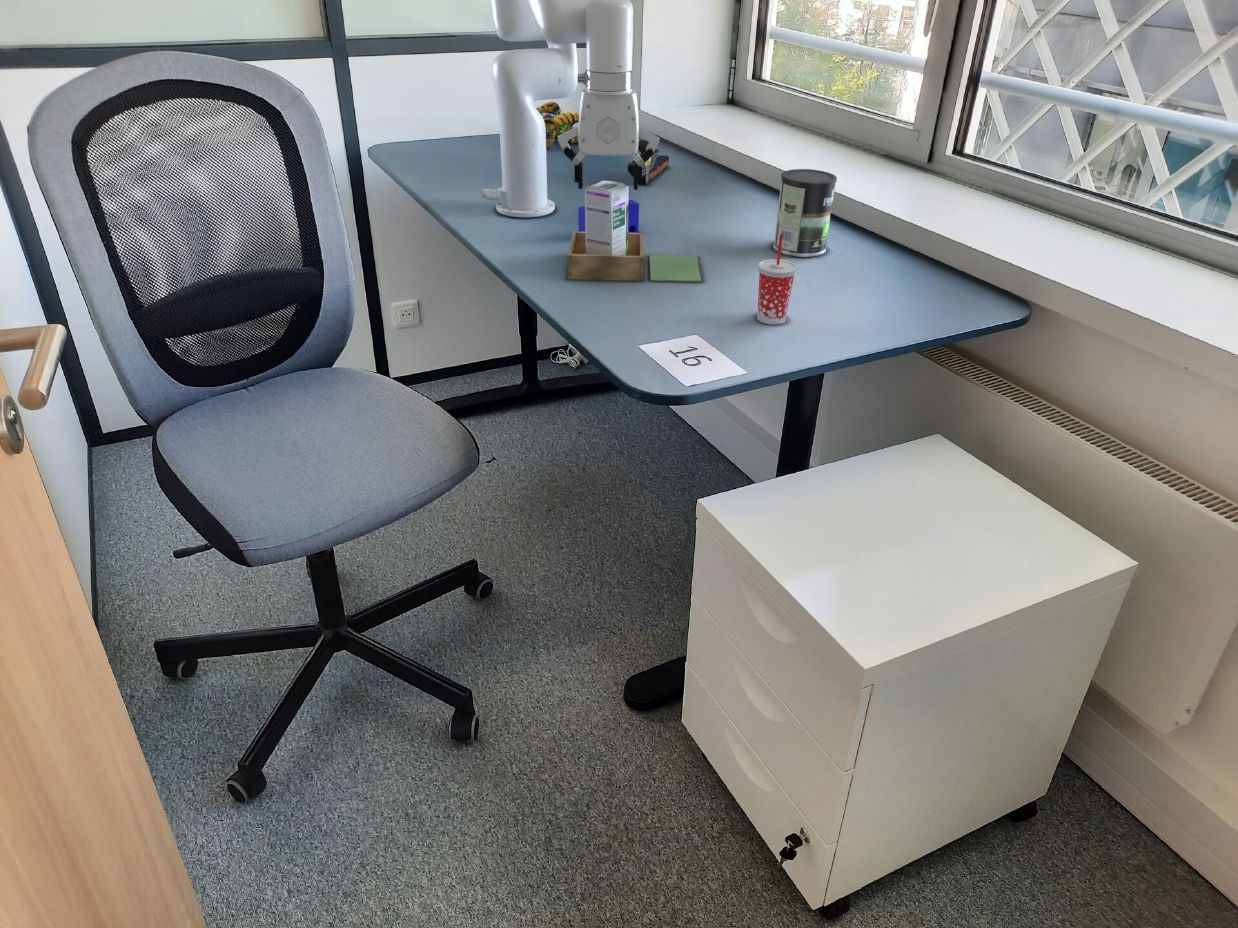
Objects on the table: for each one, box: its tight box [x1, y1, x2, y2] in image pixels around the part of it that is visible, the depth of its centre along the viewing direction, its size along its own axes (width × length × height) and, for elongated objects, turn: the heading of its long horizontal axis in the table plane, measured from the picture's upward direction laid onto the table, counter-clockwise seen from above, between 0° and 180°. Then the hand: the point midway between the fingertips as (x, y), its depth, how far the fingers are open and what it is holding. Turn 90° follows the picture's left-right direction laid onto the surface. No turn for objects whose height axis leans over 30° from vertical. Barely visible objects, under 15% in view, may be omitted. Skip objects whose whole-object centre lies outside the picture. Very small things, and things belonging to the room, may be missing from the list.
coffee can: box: [773, 168, 838, 258], centre depth 169 cm, size 10×10×14 cm
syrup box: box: [584, 179, 630, 256], centre depth 158 cm, size 6×6×14 cm
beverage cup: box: [756, 234, 798, 325], centre depth 139 cm, size 6×6×14 cm
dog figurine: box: [535, 101, 579, 151], centre depth 240 cm, size 20×12×18 cm
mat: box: [649, 254, 702, 283], centre depth 162 cm, size 9×13×1 cm
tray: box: [567, 230, 644, 282], centre depth 160 cm, size 13×13×4 cm
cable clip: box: [577, 199, 640, 233], centre depth 176 cm, size 12×4×6 cm, turn 118°
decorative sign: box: [627, 139, 670, 186], centre depth 210 cm, size 27×2×10 cm, turn 161°
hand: (608, 187), depth 154 cm, fingers open, 9 cm apart
